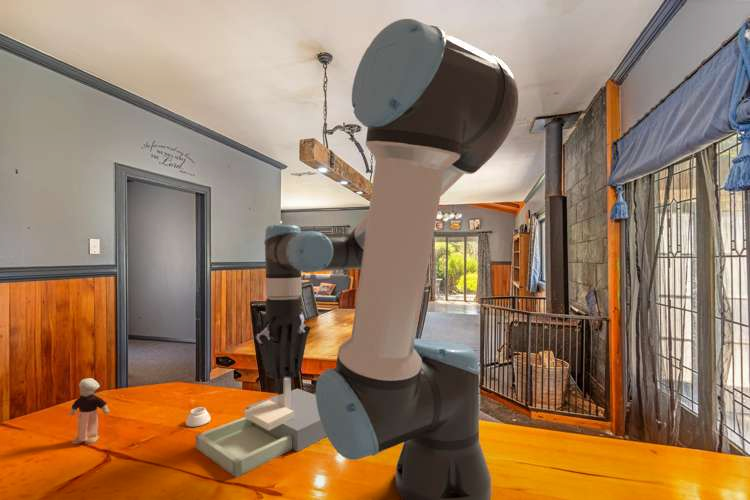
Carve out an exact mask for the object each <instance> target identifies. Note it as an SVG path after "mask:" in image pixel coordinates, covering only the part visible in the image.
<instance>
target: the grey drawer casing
mask: <svg viewBox="0 0 750 500" xmlns="http://www.w3.org/2000/svg"><path fill="white" fill-rule="evenodd" d="M268 400H270V401H272V402H274V403H277V404H278V394H277V395H275V396H272V397H270V398H269V397H268V398H267V399H263V400H261V401H258V402H255V403H251V404H250V405H249V404H248V405H246V410H247V409H249V408H252V407H254V406H256V405H259V404H261V403H263V402H266V401H268ZM290 410H292V411H294V418H293V419H291V420H289V421H287V422H285V423H283V424H281V425H279V426H277V427H275V428H273V429H271V430H267V429H265V428H263V427H261V426H259V425H257V424H256V423H254V422H252V426H254V427H256V428H257V429H259V430H261V431H263V432H265V433H267V434H269V435H271V436H272V437H274V438H276V439H278V440H279V439H281V438H283V437H285V436H287V435H290V436H292V450H293V451H295V452H299V451H302V450H303V449H306V448H308V447H310V446H311V445H314V444H316V443H318V442H319V441H322V440H323V439H325V438H328V437H327V435H326V433H325V431H324V429H323V426H322V423H321V420H320V417H319V413H318V409H317V403H316V394H314V393H311V392H309V391H306V390H303V389H300V388H296V389H295V388H293V390H292V391H291V408H290Z"/></svg>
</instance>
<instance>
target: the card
mask: <svg viewBox="0 0 750 500" xmlns="http://www.w3.org/2000/svg"><path fill="white" fill-rule="evenodd" d="M243 417H244V418H246V419H248V420H250V421H252V422H254V423H256V424H257V425H259V426H261V427H263V428H265V429H267V430H271V429H273V428H275V427H277V426H279V425H281V424H283V423H285V422H287V421H289V420H291V419H293V418H294V411H292V410H290V409H288V408H286V407H283V406H281V405H279V404H277V403H274V402H272V401H270V400H268V401H266V402H263V403H261V404H259V405H256V406H254V407H252V408H249V409H247V408H246V409H245V410H243Z"/></svg>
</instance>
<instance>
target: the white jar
mask: <svg viewBox="0 0 750 500" xmlns="http://www.w3.org/2000/svg"><path fill="white" fill-rule="evenodd" d="M210 421H211V415H210V412H208V411H207V409H206V407H199V406H198V407H195V408H193V409H191V410H190V413H189V414H188V416H187V418H186V420H185V425H186V426H187V427H193V428H195V427H200V426H201V427H202V426H204V425H206V424H207V423H209V422H210Z"/></svg>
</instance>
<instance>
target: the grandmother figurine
mask: <svg viewBox="0 0 750 500" xmlns="http://www.w3.org/2000/svg"><path fill="white" fill-rule="evenodd" d="M78 387H79V394H80V396H79V397H78V398H76V399H75V400H74V402H73V403H72V406H71V409H70V411H69V415H70V416H74V415H76V414H77V411H78V410H79V411H78V415H77V430H76V432H77V433H76V437H75V438H74V439H72V441H71V445H77V444H81V443H83V442H84V444H86V445H87V444H88V445H89V444H90V445H91V444H94V443H95V442H97V441H98V440H99V439H100V436H99V435H98V428H99V419H98V408H99V409H101V410H102V414H103V415H107V414H109V413H110V410H109V408H108V405H107V404H108V403H107V401H105V400H104V399H103V398H102V397H99V396H98V395H96V394H95V393H96V391H97V390H98V389H99V388H101V387H100V384H99V382H98V381H97V380H95V379H94V378H91V377H90V378H83V379H82V380H80V382H79V384H78Z"/></svg>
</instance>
